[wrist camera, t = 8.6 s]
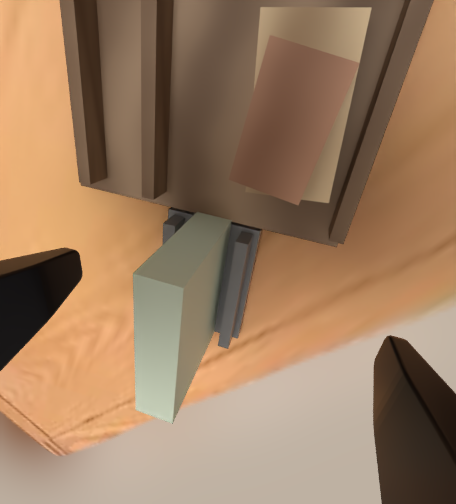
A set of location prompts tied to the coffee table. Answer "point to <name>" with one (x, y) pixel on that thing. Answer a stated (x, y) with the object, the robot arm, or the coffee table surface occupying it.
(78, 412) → the coffee table surface
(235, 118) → the rack
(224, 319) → the stand
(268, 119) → the offcut
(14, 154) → the coffee table surface
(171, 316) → the panel
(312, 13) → the offcut
